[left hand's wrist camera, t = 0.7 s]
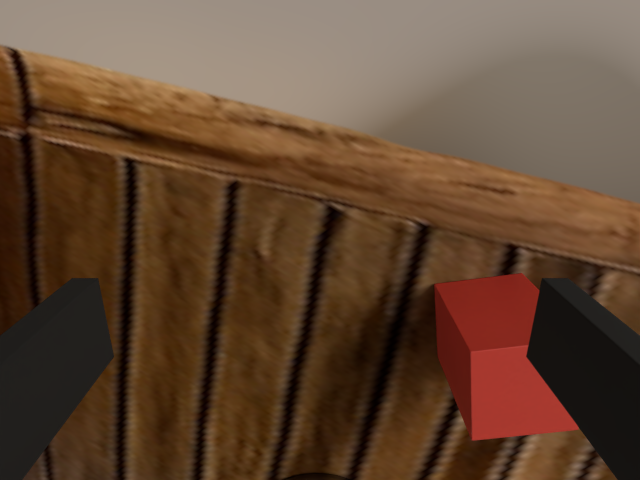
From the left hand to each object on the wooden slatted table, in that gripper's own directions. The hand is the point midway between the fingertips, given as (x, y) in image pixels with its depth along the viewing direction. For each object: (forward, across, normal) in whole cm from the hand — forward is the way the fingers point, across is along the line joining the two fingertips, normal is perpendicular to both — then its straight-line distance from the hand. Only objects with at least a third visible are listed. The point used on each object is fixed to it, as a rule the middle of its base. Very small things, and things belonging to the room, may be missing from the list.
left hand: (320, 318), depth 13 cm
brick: (+25, -15, +15) cm, 32 cm away
